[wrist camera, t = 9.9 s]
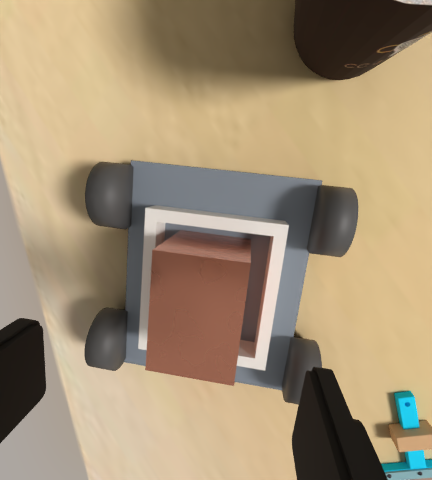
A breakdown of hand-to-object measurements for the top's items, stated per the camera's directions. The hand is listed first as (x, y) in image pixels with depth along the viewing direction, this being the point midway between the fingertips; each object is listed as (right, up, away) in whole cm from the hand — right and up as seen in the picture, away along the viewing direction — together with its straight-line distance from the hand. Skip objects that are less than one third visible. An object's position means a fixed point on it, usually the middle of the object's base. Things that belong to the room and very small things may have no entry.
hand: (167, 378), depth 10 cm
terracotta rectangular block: (+1, +2, +11) cm, 11 cm away
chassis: (+1, +2, +12) cm, 13 cm away
